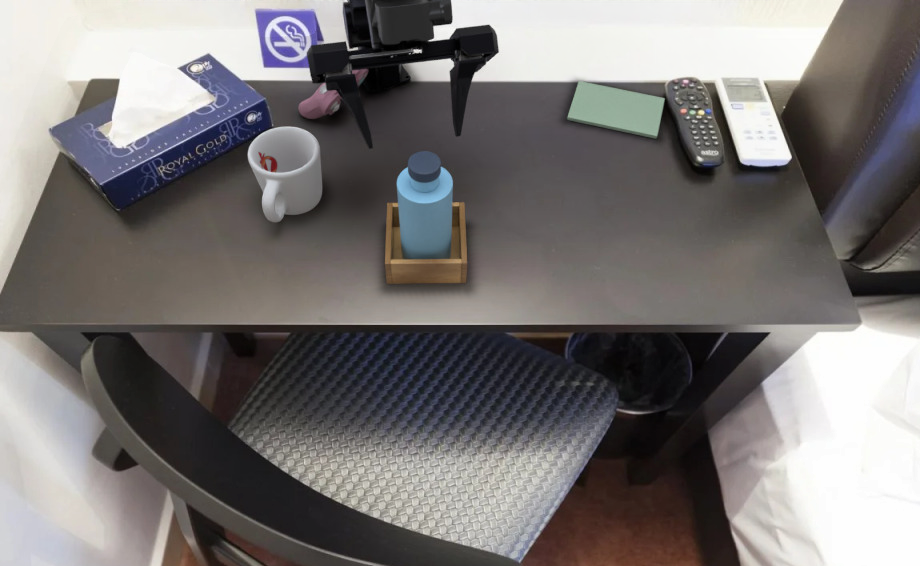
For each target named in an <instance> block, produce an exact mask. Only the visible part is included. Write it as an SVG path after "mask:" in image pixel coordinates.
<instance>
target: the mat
mask: <svg viewBox="0 0 920 566" xmlns="http://www.w3.org/2000/svg"><path fill="white" fill-rule="evenodd" d="M665 100H666V98H665V97H661V96H657V95H651V94H646V93H642V92H637V91H632V90H631V91H630V90H625V89H621V88H616V87H612V86H607V85H602V84H597V83H593V82H586V81H582V80H578V82H577V85H576V88H575V91H574V95H573V98H572V101H571V105H570V107H569V110H568V113H567V117H566V120H567V121H571V122H575V123H580V124H584V125H588V126H589V125H590V126H594V127H598V128H603V129H608V130H613V131H617V132H623V133H626V134H632V135H636V136H642V137H645V138H650V139H655V140H656V139H657V138H658V135H659V130H660V126H661V125H660V124H661V119H662V115H663V110H664V106H665Z"/></svg>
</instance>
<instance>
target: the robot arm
mask: <svg viewBox="0 0 920 566" xmlns="http://www.w3.org/2000/svg"><path fill="white" fill-rule="evenodd" d="M342 19H343V25H344V31H345V37H346V41H337V42H327V43H319V44H311V45H310V47H309V48H308V49H307V51H306V56H307V57H306V58H307V62H308V69H309V74H310V79H311V82H312V84H316V85H317V84H323V83H326V89H327V91H333V90H336V91H337V92H338V94H339V95H340V97H341V98H342V99H341V98H340V99H341V100H342V102H343V103H344V105H345V106H346V107H347V109H348V110H349V112H350V114H351V116H352V118H353V119H354V122H355V124H356V126H357V127H358V130H359V131H360V134H361V135H362V137H363V139H364V142H365V144H366V145H367V147H368V150H371V149H373V148H374V145H373V139H372V133H371V128H370V125H369V121H368V118H367V115H366V110H365V107H364V103H363V101H362V97H361V94H360V89H359V86H358V85H357V81H356V77H355V73H354V74H352V70H360V69H368V70H369V71H368V74H367V76H366V78H365V79H364V80H363V82H362V83H361V84H362V86H363V87H364V89H365V91H367V93H369V94H371V95H372V94H375V93H379V92H382V91H384V90H388V89H392V88H394V87H397V86H400V85H403V84H406V83H407V84H408V83H410V82H411V81H412V77H411V74H410V73H409V72H408V71H407V70H406V68H405V67H404V66H403V65H408V64H409V65H410V64H416V63H417V64H418V63H424V62H425V63H427V62H434V61H440V60H449V59H450V60H451V61H452V63H453V67H452V68H450V70H449V84H450V99H451V113H452V127H453V131H454V136H455V137H456V138H459V137H461V136H462V129H463V124H464V119H465V112H466V106H467V101H468V96H469V91H470V88H471V84H472V81H473V80H474V79H473V78H474V76H475V73H477V72H479V71H481V69H483V68H484V67H485V66H486V65H487V63H488V62H489V61H490V60H492V59H493V58H494V57H495V56H496V55H498V53H500V50H499V41H498V35H497V32H496V30H495V29H494V28H493V27H492V26H491V25H490V24H482V25H474V26H463V27H456V28H455V30H454V31H453V33H452V34H451V35H450V37H449V38H446V39H438V40H434V39H435V29H434V27H438V26H439V27H440V26H447V25H452V24H453V20H454V19H453V6H452V0H347V1H343V2H342ZM356 48H357V49H356ZM353 49H354V50H353ZM415 50H418V51H419V50H420V51H421V52H415Z"/></svg>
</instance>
